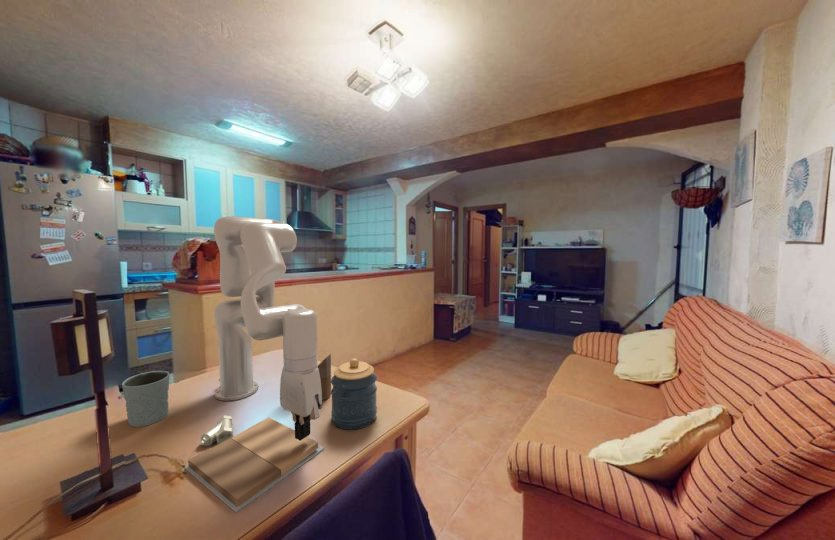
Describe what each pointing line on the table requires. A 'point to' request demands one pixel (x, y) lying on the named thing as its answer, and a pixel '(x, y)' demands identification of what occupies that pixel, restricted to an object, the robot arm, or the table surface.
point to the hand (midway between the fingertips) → (302, 436)
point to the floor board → (234, 471)
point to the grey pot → (146, 397)
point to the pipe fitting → (218, 432)
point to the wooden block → (325, 376)
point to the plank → (276, 444)
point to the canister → (354, 395)
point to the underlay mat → (258, 492)
